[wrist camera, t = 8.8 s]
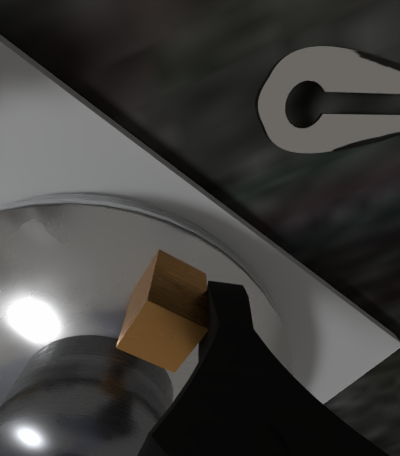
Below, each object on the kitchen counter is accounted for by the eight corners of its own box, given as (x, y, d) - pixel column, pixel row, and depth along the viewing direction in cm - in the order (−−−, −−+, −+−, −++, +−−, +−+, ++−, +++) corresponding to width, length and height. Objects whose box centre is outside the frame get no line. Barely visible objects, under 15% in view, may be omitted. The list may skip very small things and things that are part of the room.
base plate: (166, 505, 23) (165, 519, 22) (-168, 367, 17) (-184, 380, 16) (394, 333, 16) (403, 345, 16) (-16, 22, 11) (-32, 17, 10)
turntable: (171, 506, 21) (166, 607, 17) (-125, 410, 17) (-226, 512, 13) (365, 318, 15) (428, 407, 11) (-34, 96, 11) (-173, 103, 7)
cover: (131, 456, 16) (109, 580, 12) (0, 409, 15) (-75, 534, 11) (201, 374, 14) (203, 494, 10) (55, 309, 13) (-14, 419, 8)
